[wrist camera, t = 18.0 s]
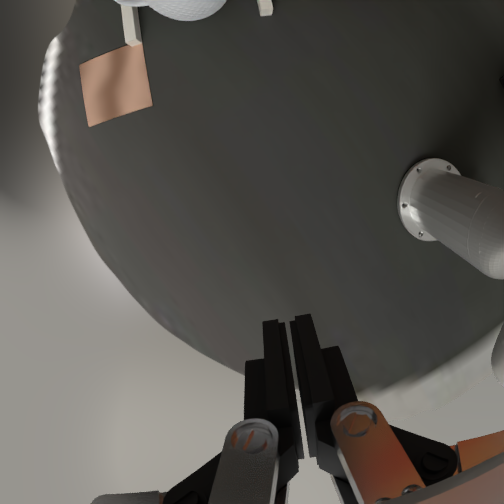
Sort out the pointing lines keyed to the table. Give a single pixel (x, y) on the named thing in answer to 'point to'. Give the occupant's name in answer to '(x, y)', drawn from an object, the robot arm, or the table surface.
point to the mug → (179, 7)
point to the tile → (115, 84)
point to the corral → (133, 25)
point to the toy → (502, 81)
